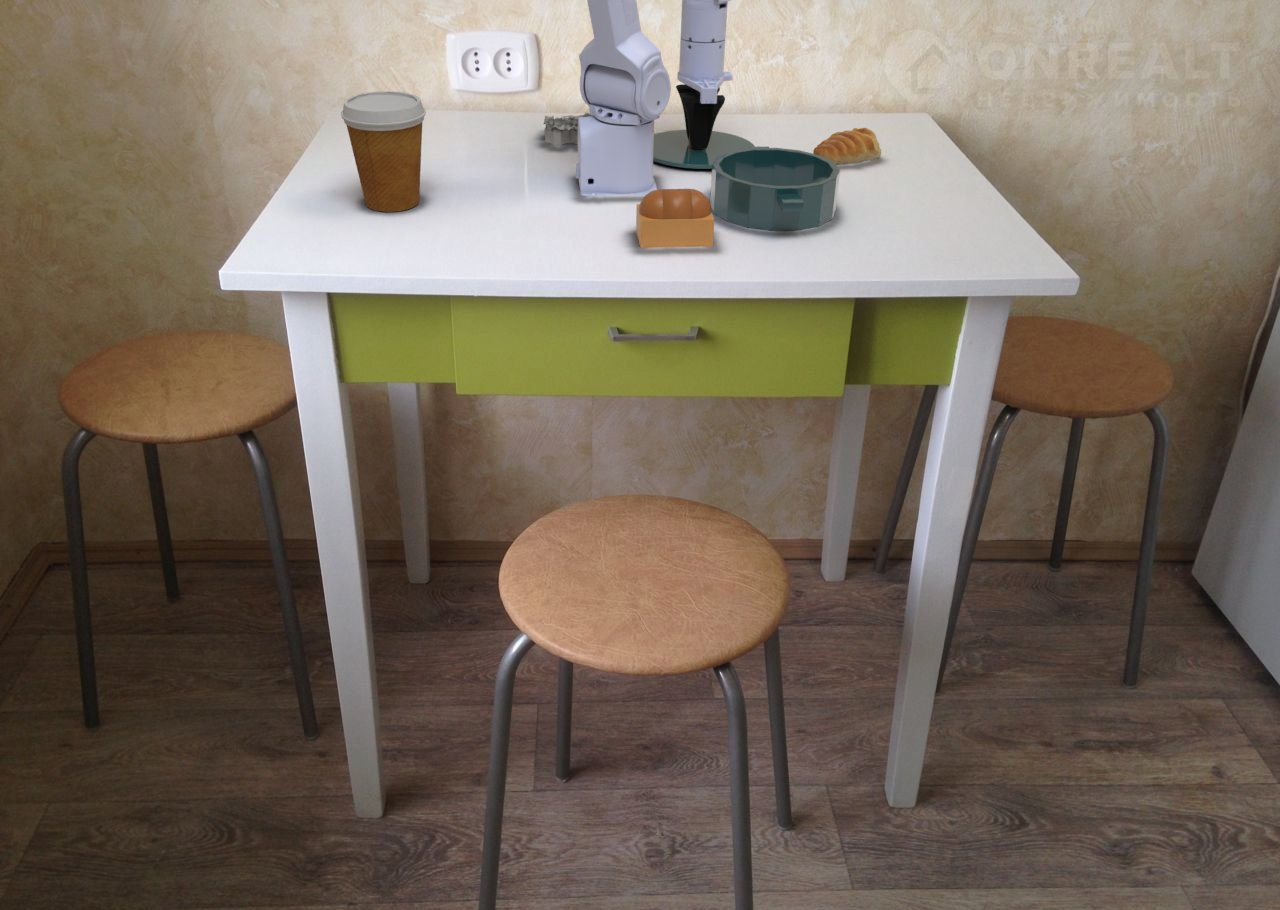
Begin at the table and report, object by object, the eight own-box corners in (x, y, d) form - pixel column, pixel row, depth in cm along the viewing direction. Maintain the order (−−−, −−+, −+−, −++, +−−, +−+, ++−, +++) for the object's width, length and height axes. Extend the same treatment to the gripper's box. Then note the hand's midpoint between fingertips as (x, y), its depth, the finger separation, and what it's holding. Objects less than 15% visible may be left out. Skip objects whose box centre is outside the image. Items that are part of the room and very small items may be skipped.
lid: (645, 174, 145) (646, 137, 143) (633, 137, 158) (634, 103, 156) (765, 172, 147) (768, 136, 144) (744, 137, 160) (746, 103, 158)
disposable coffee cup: (402, 184, 141) (393, 85, 135) (448, 204, 136) (441, 102, 129) (335, 201, 136) (323, 99, 129) (381, 223, 130) (370, 117, 124)
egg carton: (621, 135, 161) (622, 106, 158) (620, 152, 154) (620, 121, 152) (545, 133, 161) (545, 103, 158) (541, 149, 154) (540, 119, 152)
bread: (640, 251, 125) (641, 198, 121) (635, 234, 129) (637, 183, 126) (712, 250, 125) (715, 197, 122) (705, 233, 130) (708, 182, 126)
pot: (725, 244, 127) (728, 197, 124) (699, 184, 144) (701, 141, 141) (853, 242, 128) (859, 195, 125) (813, 183, 145) (817, 140, 142)
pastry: (836, 174, 148) (839, 144, 146) (799, 161, 153) (801, 132, 151) (884, 160, 153) (887, 132, 151) (846, 148, 158) (849, 120, 156)
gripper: (744, 51, 139) (736, 160, 146) (724, 25, 151) (718, 128, 158) (686, 51, 138) (682, 161, 145) (672, 25, 150) (668, 128, 158)
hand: (697, 144), depth 152 cm, fingers closed on lid, 2 cm apart
